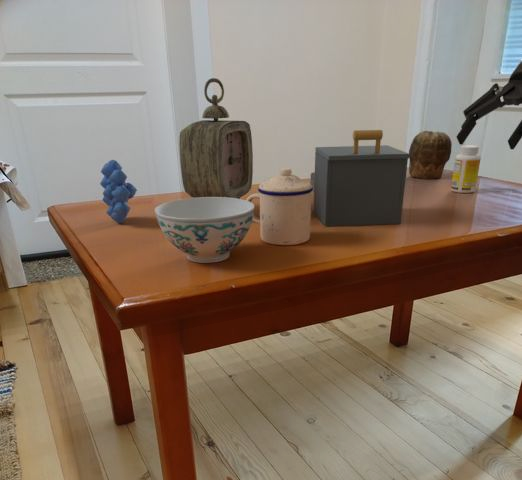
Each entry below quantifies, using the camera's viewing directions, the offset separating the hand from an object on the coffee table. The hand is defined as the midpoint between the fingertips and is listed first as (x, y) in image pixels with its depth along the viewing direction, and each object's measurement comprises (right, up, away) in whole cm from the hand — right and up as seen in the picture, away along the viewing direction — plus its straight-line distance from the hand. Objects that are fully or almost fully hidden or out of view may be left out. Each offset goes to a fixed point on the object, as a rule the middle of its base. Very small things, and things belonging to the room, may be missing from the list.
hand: (483, 143), depth 121 cm
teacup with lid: (-50, -30, -32) cm, 67 cm away
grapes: (-80, -24, -20) cm, 86 cm away
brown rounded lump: (-7, -1, +21) cm, 22 cm away
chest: (-34, -23, -19) cm, 46 cm away
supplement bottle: (-4, -11, +2) cm, 12 cm away
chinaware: (-61, -35, -41) cm, 81 cm away
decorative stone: (-34, -11, +3) cm, 36 cm away
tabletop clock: (-62, -21, -15) cm, 67 cm away
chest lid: (-34, -12, -25) cm, 45 cm away
